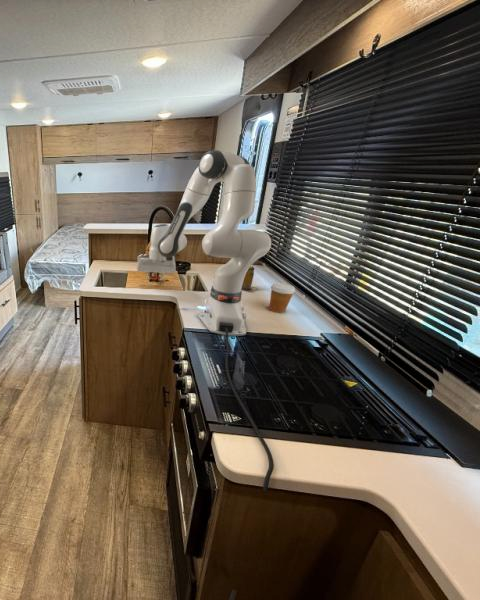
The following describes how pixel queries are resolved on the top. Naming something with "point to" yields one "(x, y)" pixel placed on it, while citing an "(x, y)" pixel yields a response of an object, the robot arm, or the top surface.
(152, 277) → the lever
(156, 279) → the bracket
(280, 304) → the disposable coffee cup
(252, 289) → the condiment
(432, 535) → the top surface
